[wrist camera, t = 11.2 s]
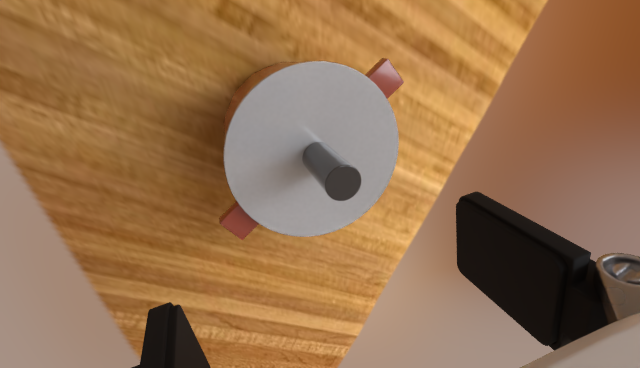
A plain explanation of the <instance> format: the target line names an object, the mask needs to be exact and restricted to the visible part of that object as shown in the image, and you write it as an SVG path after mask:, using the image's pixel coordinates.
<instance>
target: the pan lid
mask: <svg viewBox="0 0 640 368" xmlns="http://www.w3.org/2000/svg"><path fill="white" fill-rule="evenodd" d="M398 145H399V142H398V129H397V123H396V119H395V116H394V113H393V110H392V108H391V106H390V104H389V102H388V100H387V98H386V97H385V95H384V94H383V92H382V91H381V90H380V89H379V88H378V86H377V85H376V84H375V83H374V82H372V81H371V80H370V79H369V78H368V77H367V76H365V75H363V74H362V73H360V72H359V71H357V70H355V69H353V68H350V67H348V66H345V65H342V64H338V63H334V62H327V61H307V62H301V63H296V64H292V65H289V66H286V67H283V68H281V69H279V70H277V71H275V72H273V73H271V74H270V75H268V76H267V77H265V78H264V79H262V80H261V81H260V82H258V83H257V84H256V85H255V86H254V87H253V88H252V89H251V90H250V91H249V92H248V93H247V94H246V95H245V96H244V98H243V99H242V100H241V102H240V103H239V105H238V106H237V108H236V109H235V112H234V114H233V116H232V118H231V120H230V122H229V125H228V128H227V132H226V136H225V142H224V153H223V160H224V169H225V174H226V178H227V182H228V185H229V187H230V189H231V192H232V194H233V196H234V197H235V199H236V201H237V202H238V204H239V205H240V206H241V208H242V209H243V210H244V211H245V212H246V213H247V214H248V215H249V216H250V217H251V218H252V219H253V220H255V221H256V222H258V223H259V224H261V225H262V226H264V227H266V228H268V229H270V230H272V231H275V232H278V233H281V234H285V235H290V236H300V237H307V236H317V235H323V234H327V233H330V232H334V231H336V230H338V229H341V228H343V227H345V226H347V225H349V224H351V223H352V222H354V221H355V220H357V219H358V218H360V217H361V216H362V215H363V214H364V213H366V212H367V211H368V210H369V209H370V208H371V207H372V206H373V205H374V204H375V203H376V201H377V200H378V199H379V197H380V196H381V195H382V193H383V192H384V190H385V188H386V187H387V185H388V183H389V181H390V179H391V176H392V174H393V171H394V168H395V165H396V160H397V155H398Z"/></svg>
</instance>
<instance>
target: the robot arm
mask: <svg viewBox="0 0 640 368" xmlns="http://www.w3.org/2000/svg"><path fill="white" fill-rule="evenodd" d="M456 229H457V231H456V232H457V266H458V268H459V270H460V272H461V273H462V274H463V275H464V276H465V277H466V278H467V279H468V280H469V281H471V282H472V283H473V284H474V285H475V286H476V287H477V288H479V289H480V290H481V291H482V292H483V293H484V294H486V295H487V296H488V297H489V298H490V299H491V300H492V301H493V302H495V303H496V304H497V305H498V306H499V307H500V308H501V309H502V310H504V311H505V312H506V313H507V314H508V315H509V316H510V317H512V318H513V319H514V320H515V321H516V322H517V323H518V324H520V325H521V326H522V327H523V328H524V329H525V330H526V331H528V332H529V333H530V334H531V335H532V336H533V337H534V338H536V339H537V340H538V341H539V342H540V343H542V344H543V345H545V346H548V345H549V346H550V347H551V348H552V349H553V350H554V351H553V352H551V353H549V354H547V355H545V356H543V357H541V358H539V359H537V360H535V361H533V362H531V363H529V364H527V365H525V366H523V367H521V368H640V257H639V256H635V255H631V254H624V253H610V254H605V255H603V256H601V257H599V258H598V260H597V261H596V262H595V261H593V260H591V259H590V255H591V252H589V251H587V250H585V249H583V248H581V247H579V246H578V245H576V244H574V243H572V242H570V241H568V240H567V239H565V238H563V237H561V236H559V235H557V234H556V233H554V232H552V231H550V230H548V229H546V228H544V227H543V226H541V225H539V224H537V223H535V222H533V221H531V220H530V219H528V218H526V217H524V216H522V215H520V214H518V213H517V212H515V211H513V210H511V209H509V208H507V207H505V206H504V205H502V204H500V203H498V202H496V201H494V200H493V199H491V198H489V197H487V196H485V195H483V194H482V193H479V192H473V193H470V194H468V195H465V196H462V197H461V198H460V199H459V202H458V203H457V204H456ZM132 368H210V365H209V363H208V361H207V359H206V357H205V355H204V353H203V351H202V349H201V347H200V345H199V343H198V341H197V338H196V336H195V334H194V332H193V330H192V328H191V326H190V324H189V322H188V320H187V318H186V316H185V314H184V312H183V310H182V308H181V306H180V305H176V306H173V304H172V303H170V302H169V303H166V304H164V305H161V306H158V307H155V308H153V309H150V310H149V312H148V318H147V324H146V330H145V337H144V343H143V349H142V355H141V361H140V365H138V366H135V367H132Z"/></svg>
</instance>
